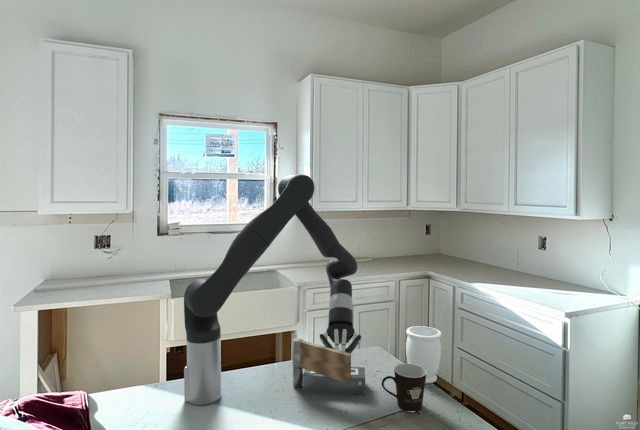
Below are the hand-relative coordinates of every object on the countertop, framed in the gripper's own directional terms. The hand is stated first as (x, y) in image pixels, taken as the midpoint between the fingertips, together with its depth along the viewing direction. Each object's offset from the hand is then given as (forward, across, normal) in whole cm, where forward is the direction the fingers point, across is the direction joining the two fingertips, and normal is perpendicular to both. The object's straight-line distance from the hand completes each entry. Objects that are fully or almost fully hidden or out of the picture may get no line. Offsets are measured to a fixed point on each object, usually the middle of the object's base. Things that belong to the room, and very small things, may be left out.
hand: (340, 367), depth 111 cm
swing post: (+2, -13, +10) cm, 17 cm away
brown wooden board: (+1, -6, +3) cm, 6 cm away
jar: (-3, +26, +17) cm, 31 cm away
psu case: (+2, -2, +10) cm, 11 cm away
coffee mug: (+8, +18, +4) cm, 20 cm away
